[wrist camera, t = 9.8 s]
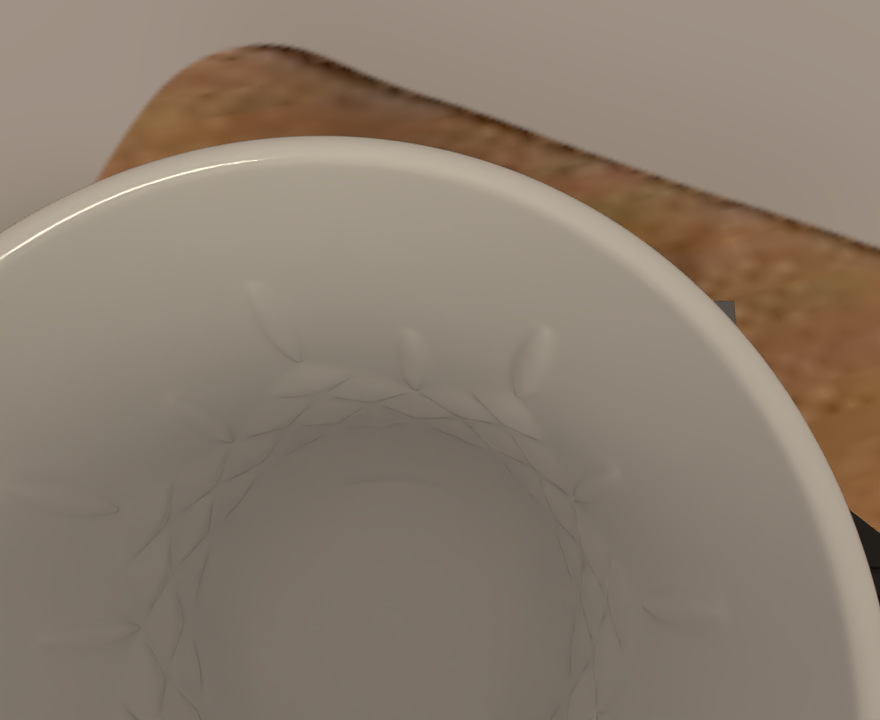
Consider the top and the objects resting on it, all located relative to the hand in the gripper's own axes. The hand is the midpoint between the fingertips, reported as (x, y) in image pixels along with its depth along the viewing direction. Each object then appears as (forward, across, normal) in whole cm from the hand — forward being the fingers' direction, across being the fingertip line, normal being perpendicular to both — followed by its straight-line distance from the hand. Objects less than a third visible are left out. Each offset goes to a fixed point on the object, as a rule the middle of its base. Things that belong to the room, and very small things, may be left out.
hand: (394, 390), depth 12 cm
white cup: (0, 0, -5) cm, 5 cm away
